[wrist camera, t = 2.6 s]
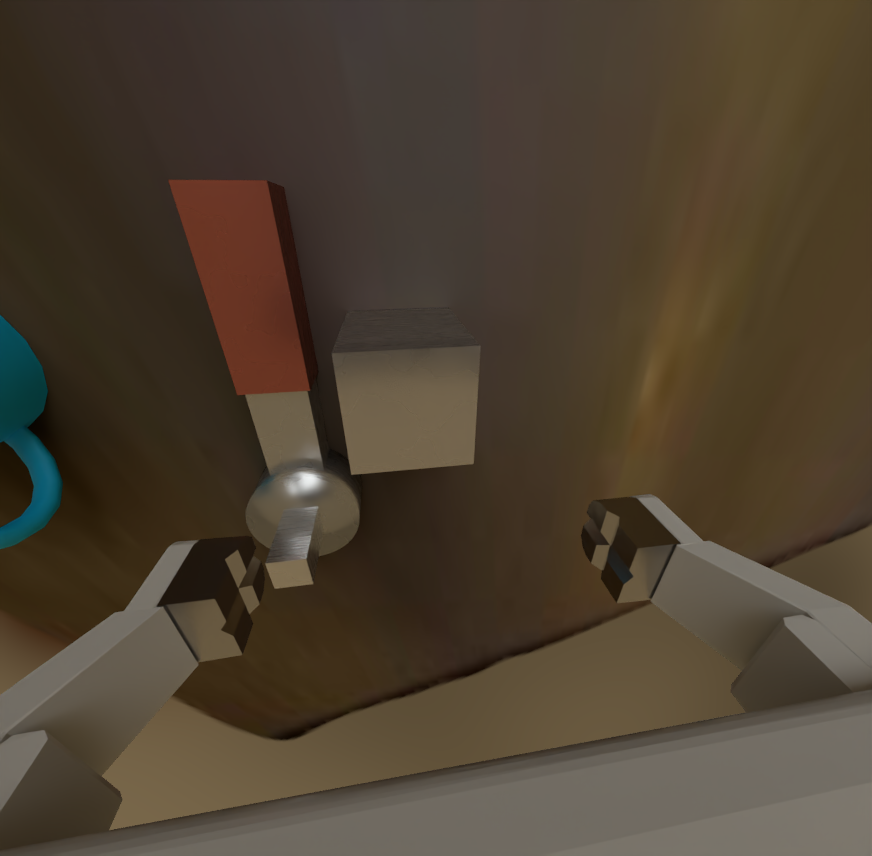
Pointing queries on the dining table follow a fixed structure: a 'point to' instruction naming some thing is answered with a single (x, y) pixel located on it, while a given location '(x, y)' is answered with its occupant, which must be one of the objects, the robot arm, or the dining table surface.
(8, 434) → the mug
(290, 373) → the ratchet
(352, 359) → the brushed steel block
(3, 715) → the robot arm
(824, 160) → the dining table surface
